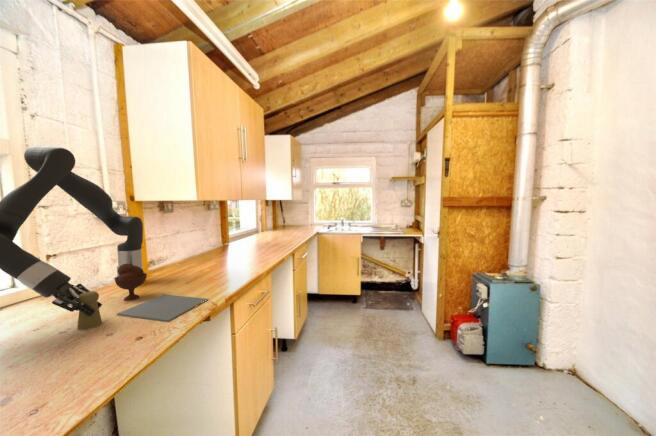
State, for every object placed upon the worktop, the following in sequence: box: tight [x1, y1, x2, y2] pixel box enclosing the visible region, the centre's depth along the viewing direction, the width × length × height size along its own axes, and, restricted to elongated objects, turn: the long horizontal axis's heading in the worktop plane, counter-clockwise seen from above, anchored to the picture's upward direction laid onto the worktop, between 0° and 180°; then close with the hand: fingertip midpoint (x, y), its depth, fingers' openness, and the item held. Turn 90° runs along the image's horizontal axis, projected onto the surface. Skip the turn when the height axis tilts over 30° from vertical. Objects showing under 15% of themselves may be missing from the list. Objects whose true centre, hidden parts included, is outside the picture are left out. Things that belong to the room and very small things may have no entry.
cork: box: [76, 290, 103, 331], centre depth 86 cm, size 6×6×11 cm
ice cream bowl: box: [113, 263, 148, 302], centre depth 109 cm, size 11×11×15 cm
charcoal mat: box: [116, 293, 208, 323], centre depth 101 cm, size 22×20×1 cm
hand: (96, 310), depth 86 cm, fingers closed on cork, 4 cm apart
